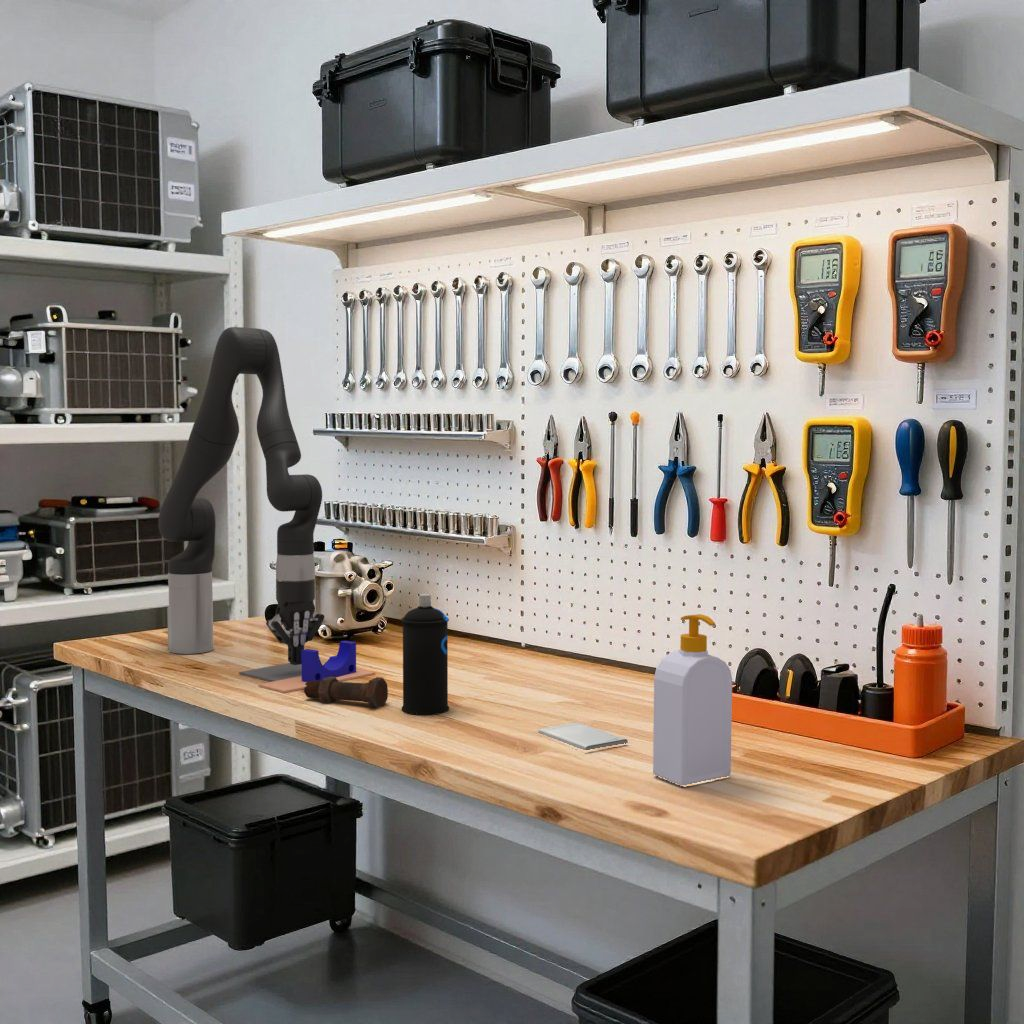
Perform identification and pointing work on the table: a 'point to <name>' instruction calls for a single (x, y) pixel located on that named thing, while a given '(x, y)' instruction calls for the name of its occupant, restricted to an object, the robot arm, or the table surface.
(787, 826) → the table surface
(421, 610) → the aerosol can
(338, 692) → the bolt
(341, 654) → the blue cradle block
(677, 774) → the soap bottle
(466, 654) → the table surface
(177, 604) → the robot arm
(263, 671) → the t mat
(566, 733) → the hard drive
